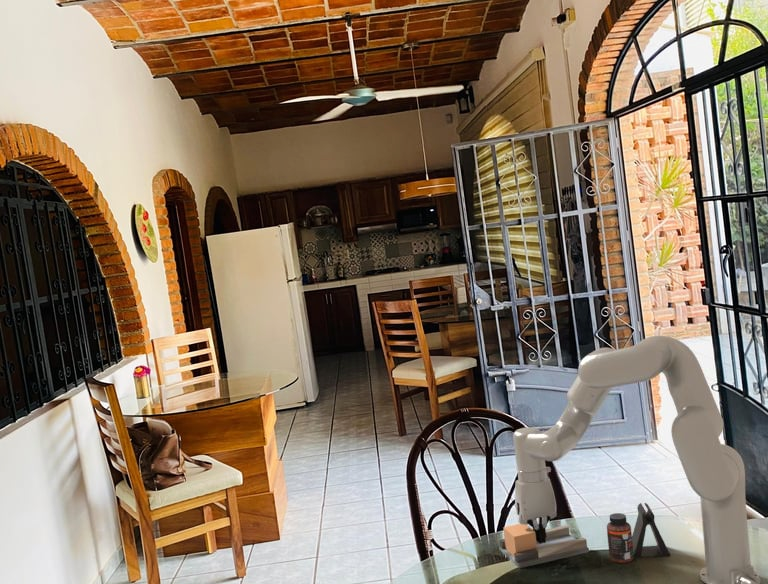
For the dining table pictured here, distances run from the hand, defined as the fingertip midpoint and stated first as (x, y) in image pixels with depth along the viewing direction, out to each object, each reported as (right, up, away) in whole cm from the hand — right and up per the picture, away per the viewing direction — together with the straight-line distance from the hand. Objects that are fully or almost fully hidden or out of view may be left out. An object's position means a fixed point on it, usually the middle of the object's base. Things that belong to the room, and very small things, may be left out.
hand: (540, 541), depth 197 cm
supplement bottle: (+19, -1, -10) cm, 21 cm away
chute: (+1, -3, 0) cm, 3 cm away
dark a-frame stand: (+26, 0, -8) cm, 28 cm away
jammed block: (-5, -2, -1) cm, 6 cm away
